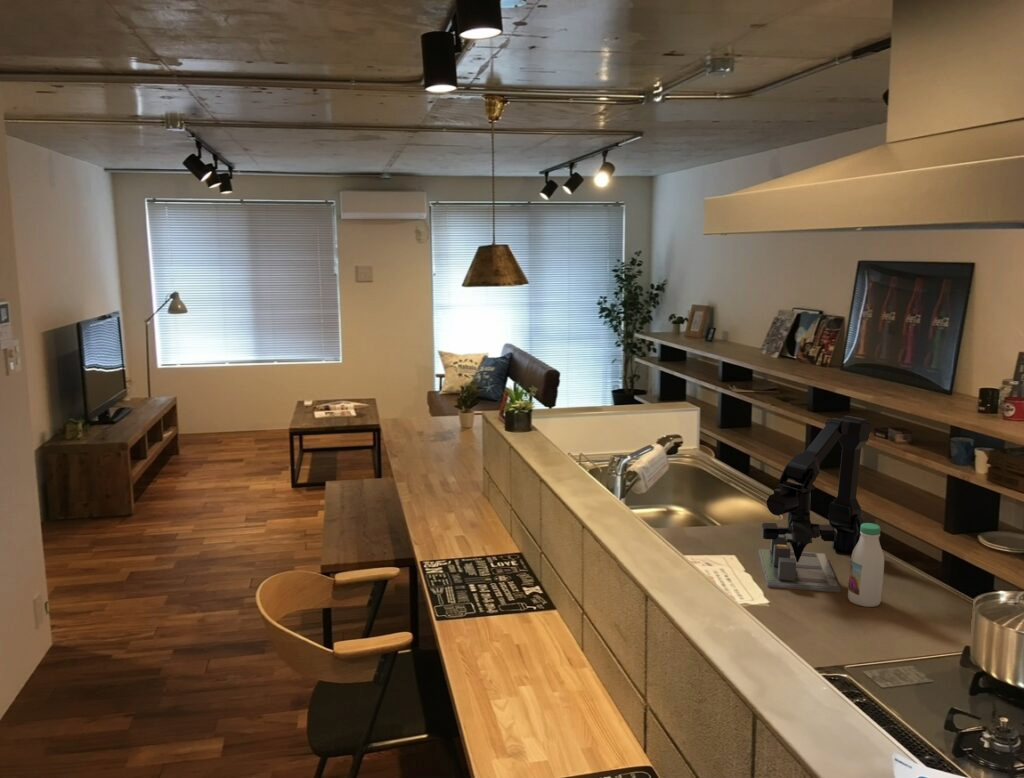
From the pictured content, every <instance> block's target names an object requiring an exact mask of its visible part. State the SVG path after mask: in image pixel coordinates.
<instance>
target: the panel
mask: <svg viewBox="0 0 1024 778" xmlns="http://www.w3.org/2000/svg"><path fill="white" fill-rule="evenodd" d="M758 555H759V558H760V563H761V567H762V571H763V575H764V580H765V583H766V586H767V588H777V589H778V588H779V589H791V590H792V589H793V590H804V591H816V592H817V591H818V592H829V593H841V585H840V584H839V581H838V580H837V579H838V578H837V576H836V574H835V572H834V570H833V568H832V566H831V563H830V561H829V559H828V557H827V555H826V553H825V552H809V551H803V552H802V554H801V556H800V559H799V561H798V562H796V574H795V581H790V580H779V578H778V566H774V564H773V554H772V553H771V550H770V549H769V548H768V549H767V548H759V549H758ZM790 558H795V555H794V551H793V550H790ZM795 561H796V558H795Z"/></svg>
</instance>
